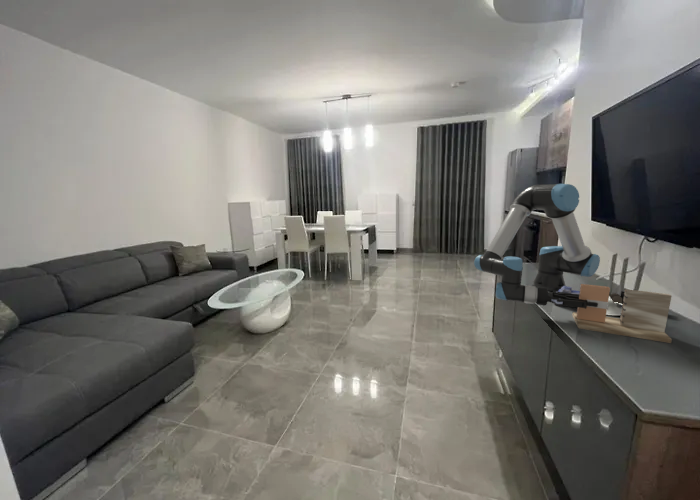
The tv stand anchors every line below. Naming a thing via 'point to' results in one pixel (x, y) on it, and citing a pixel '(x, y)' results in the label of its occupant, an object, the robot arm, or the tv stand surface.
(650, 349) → the tv stand surface
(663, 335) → the stand
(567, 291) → the mineral
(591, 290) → the orange rectangular panel
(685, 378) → the tv stand surface
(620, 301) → the figurine character
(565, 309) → the tv stand surface
